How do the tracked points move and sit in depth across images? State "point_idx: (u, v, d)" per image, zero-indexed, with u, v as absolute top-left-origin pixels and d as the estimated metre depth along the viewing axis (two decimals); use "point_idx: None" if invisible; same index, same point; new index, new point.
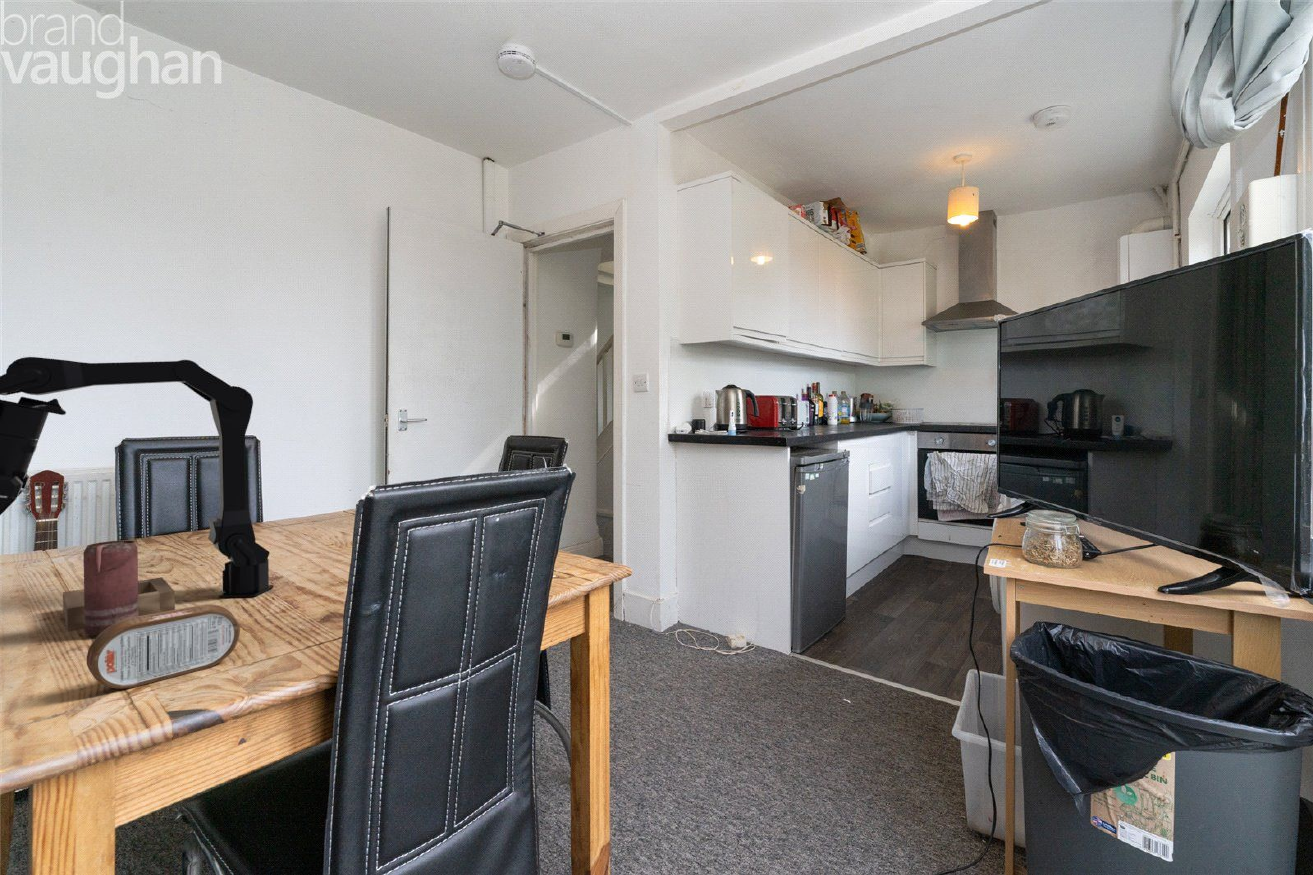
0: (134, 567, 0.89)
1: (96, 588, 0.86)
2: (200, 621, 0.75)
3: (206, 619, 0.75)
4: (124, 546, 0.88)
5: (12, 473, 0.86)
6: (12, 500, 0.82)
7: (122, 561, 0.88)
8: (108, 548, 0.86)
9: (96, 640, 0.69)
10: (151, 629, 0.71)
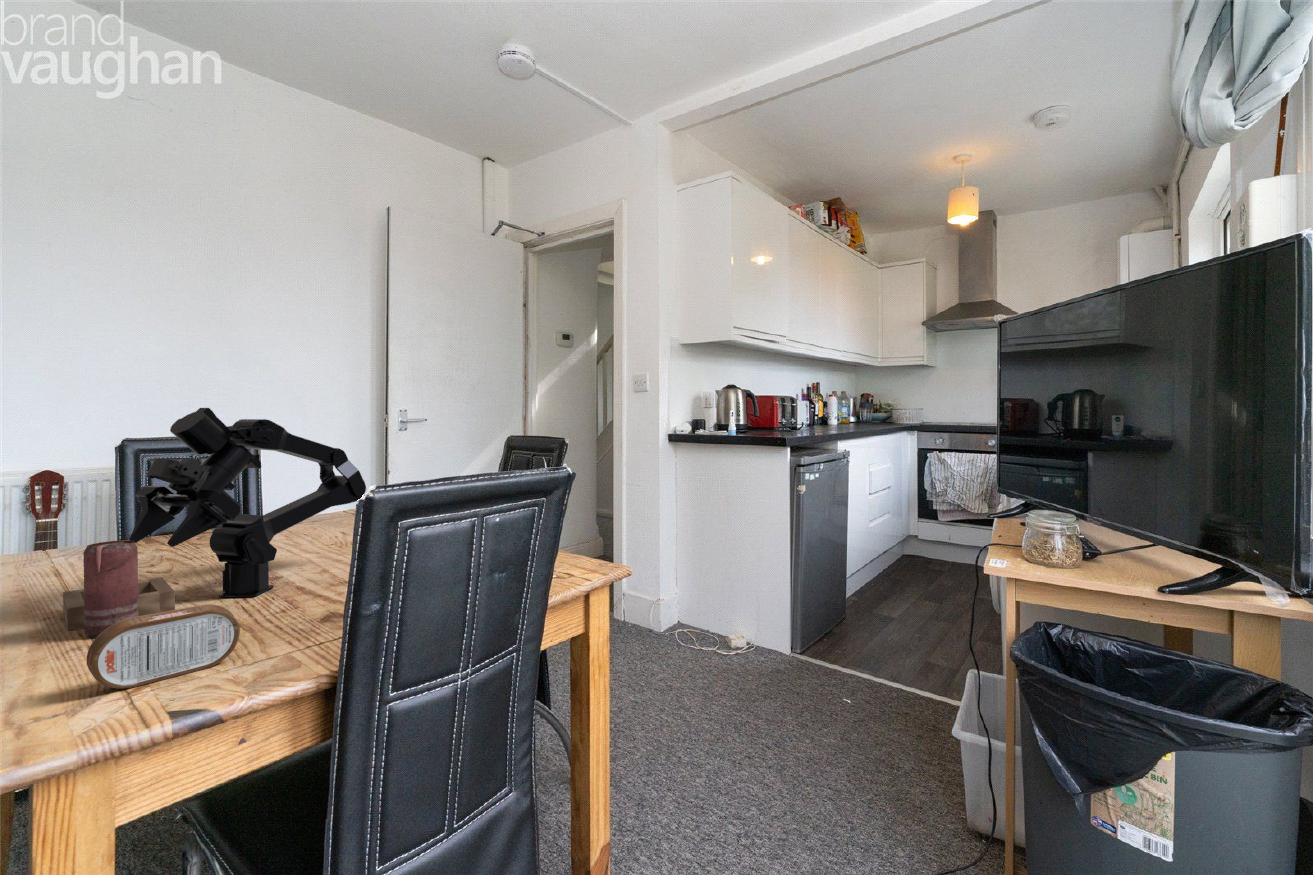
0: (134, 567, 0.89)
1: (96, 588, 0.86)
2: (200, 621, 0.75)
3: (206, 619, 0.75)
4: (124, 546, 0.88)
5: None
6: (226, 522, 0.98)
7: (122, 561, 0.88)
8: (108, 548, 0.86)
9: (96, 640, 0.69)
10: (151, 629, 0.71)
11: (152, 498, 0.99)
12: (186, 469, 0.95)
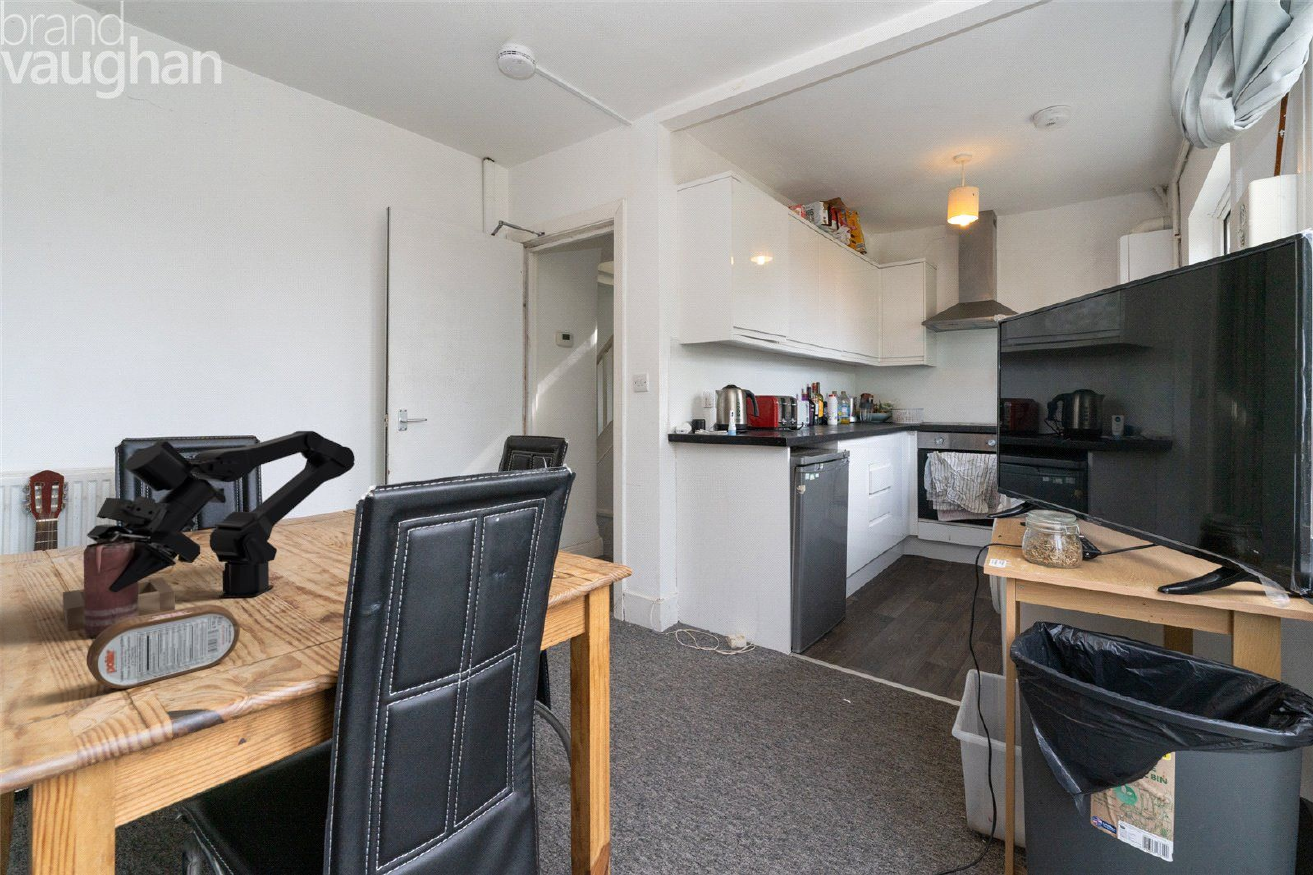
0: None
1: (96, 588, 0.86)
2: (200, 621, 0.75)
3: (206, 619, 0.75)
4: (124, 546, 0.88)
5: None
6: None
7: (122, 561, 0.87)
8: (108, 548, 0.86)
9: (96, 640, 0.69)
10: (151, 629, 0.71)
11: (113, 539, 0.92)
12: (139, 509, 0.89)
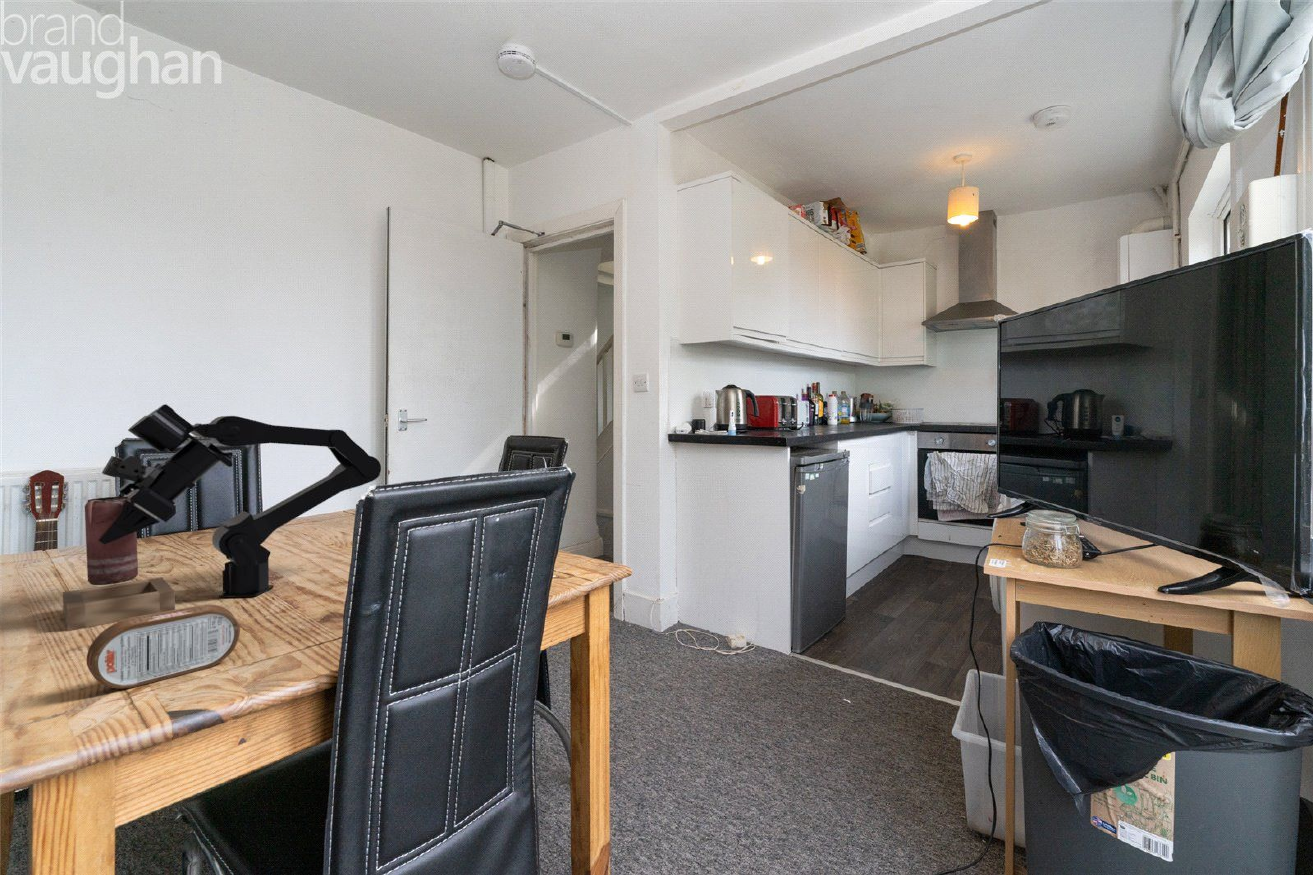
0: None
1: (90, 539, 0.92)
2: (200, 621, 0.75)
3: (206, 619, 0.75)
4: (113, 501, 0.93)
5: (166, 499, 0.98)
6: (158, 522, 0.95)
7: (110, 515, 0.93)
8: (98, 502, 0.92)
9: (96, 640, 0.69)
10: (151, 629, 0.71)
11: (127, 495, 0.99)
12: (124, 467, 0.93)
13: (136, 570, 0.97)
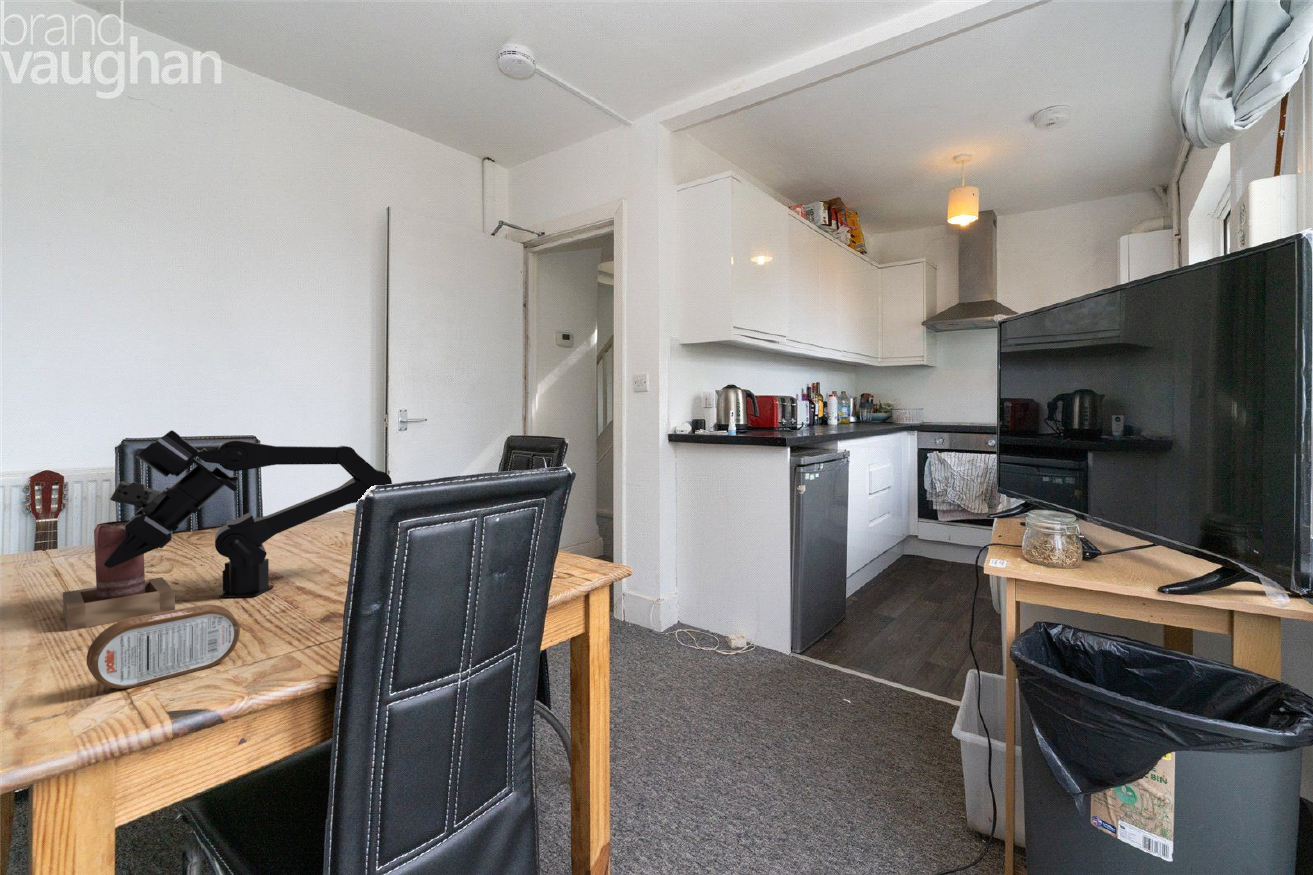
0: None
1: (97, 562, 0.95)
2: (200, 621, 0.75)
3: (206, 619, 0.75)
4: (118, 526, 0.96)
5: (170, 524, 1.00)
6: (157, 547, 0.97)
7: (115, 540, 0.95)
8: (104, 527, 0.95)
9: (96, 640, 0.69)
10: (151, 629, 0.71)
11: None
12: (127, 493, 0.95)
13: (142, 593, 0.99)
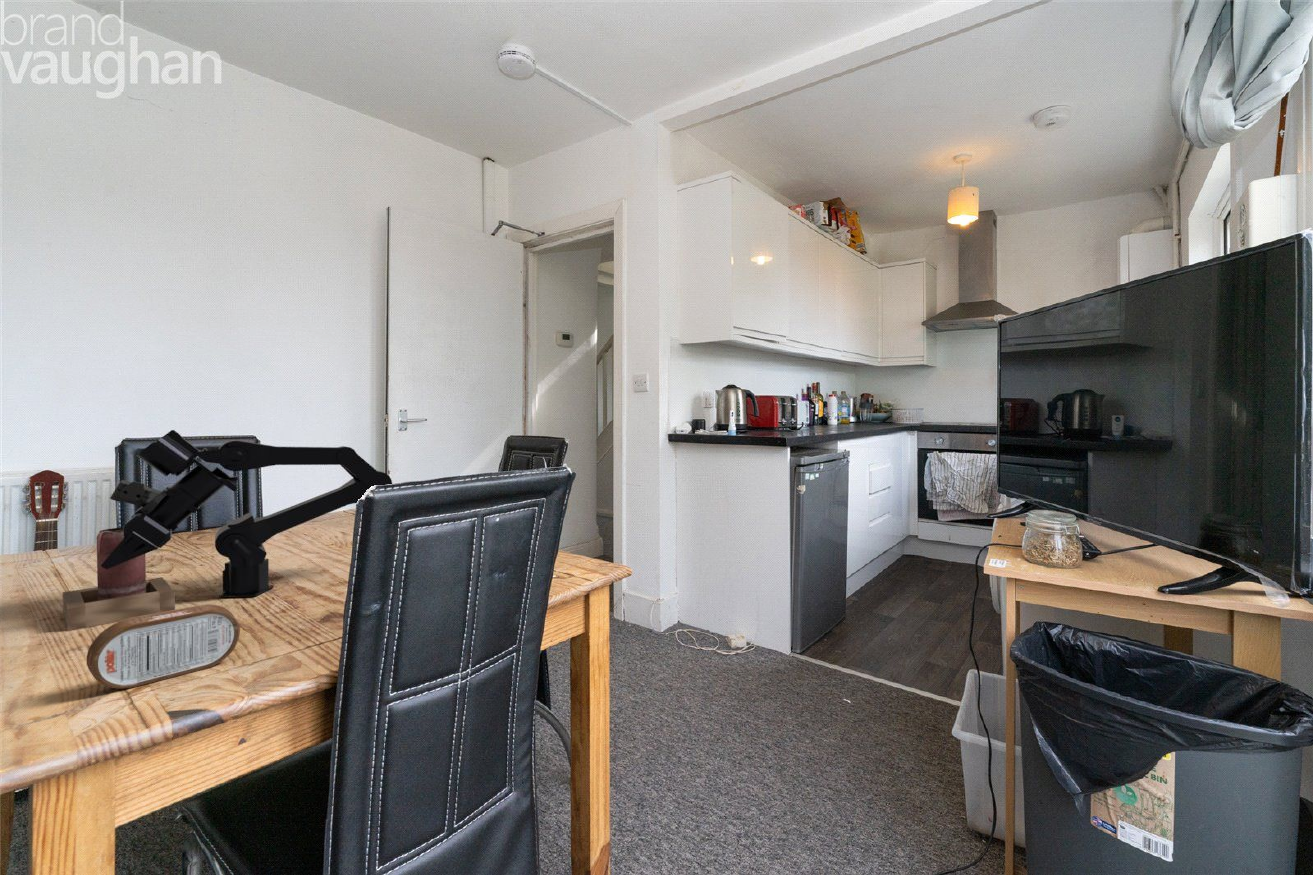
0: None
1: (99, 568, 0.96)
2: (200, 621, 0.75)
3: (206, 619, 0.75)
4: (120, 533, 0.96)
5: (169, 524, 1.00)
6: (155, 548, 0.95)
7: None
8: (106, 533, 0.95)
9: (96, 640, 0.69)
10: (151, 629, 0.71)
11: None
12: (127, 492, 0.95)
13: None
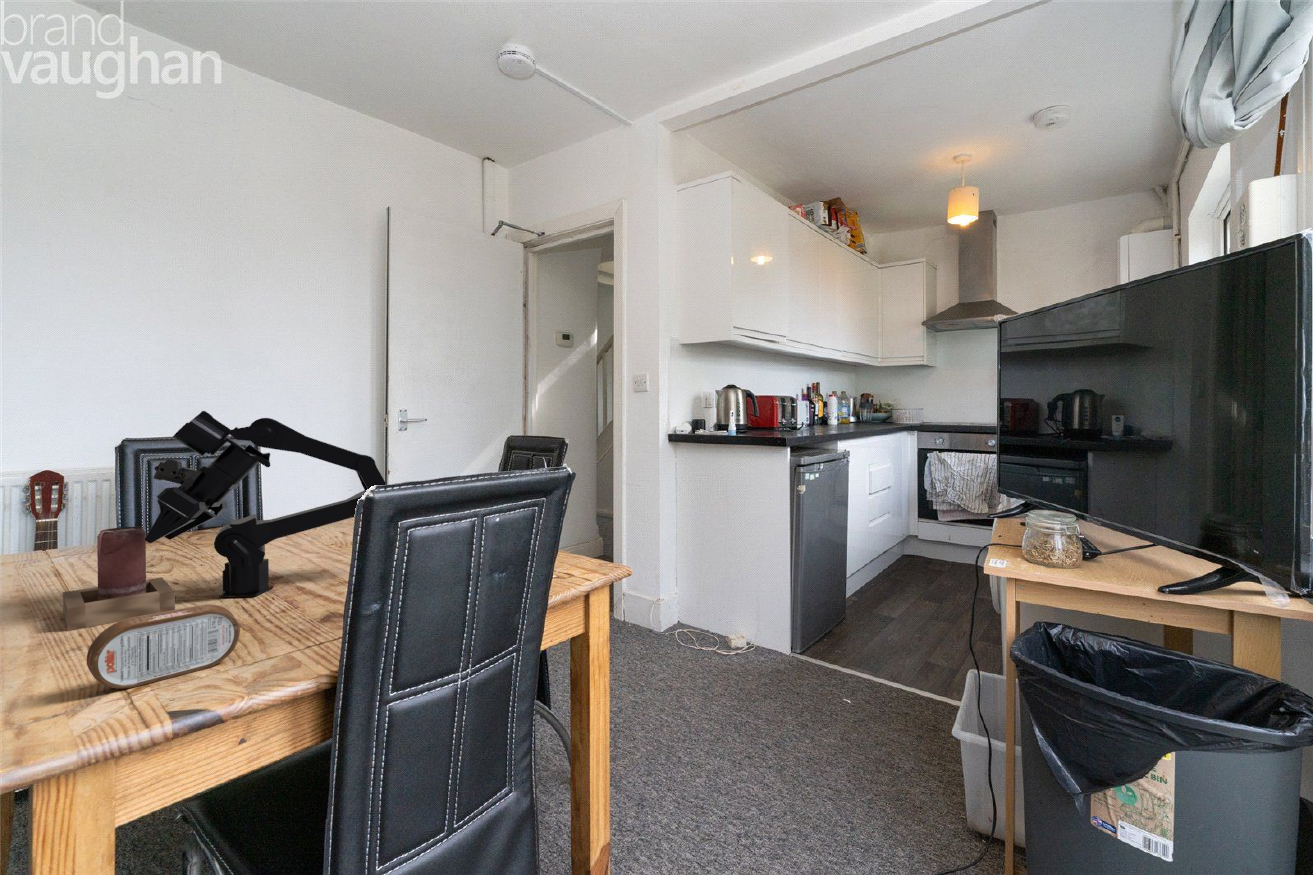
0: (132, 553, 0.97)
1: (99, 568, 0.96)
2: (200, 621, 0.75)
3: (206, 619, 0.75)
4: (121, 533, 0.96)
5: (207, 499, 1.04)
6: (188, 520, 0.98)
7: (117, 546, 0.96)
8: (107, 533, 0.95)
9: (96, 640, 0.69)
10: (151, 629, 0.71)
11: None
12: (164, 469, 1.00)
13: None
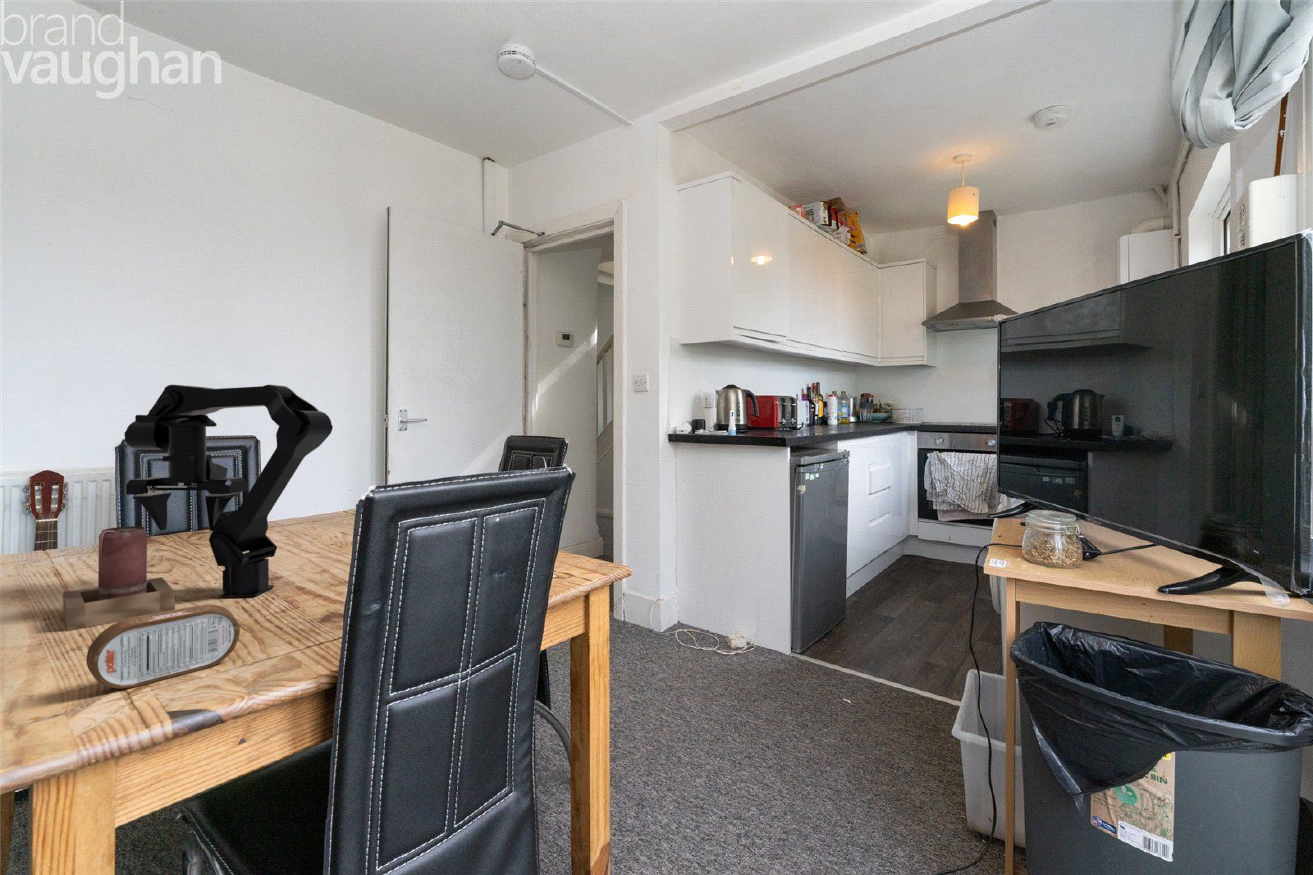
0: (134, 553, 0.97)
1: (100, 568, 0.96)
2: (200, 621, 0.75)
3: (206, 619, 0.75)
4: (123, 533, 0.96)
5: None
6: None
7: (119, 546, 0.96)
8: (109, 533, 0.95)
9: (96, 640, 0.69)
10: (151, 629, 0.71)
11: None
12: None
13: None
